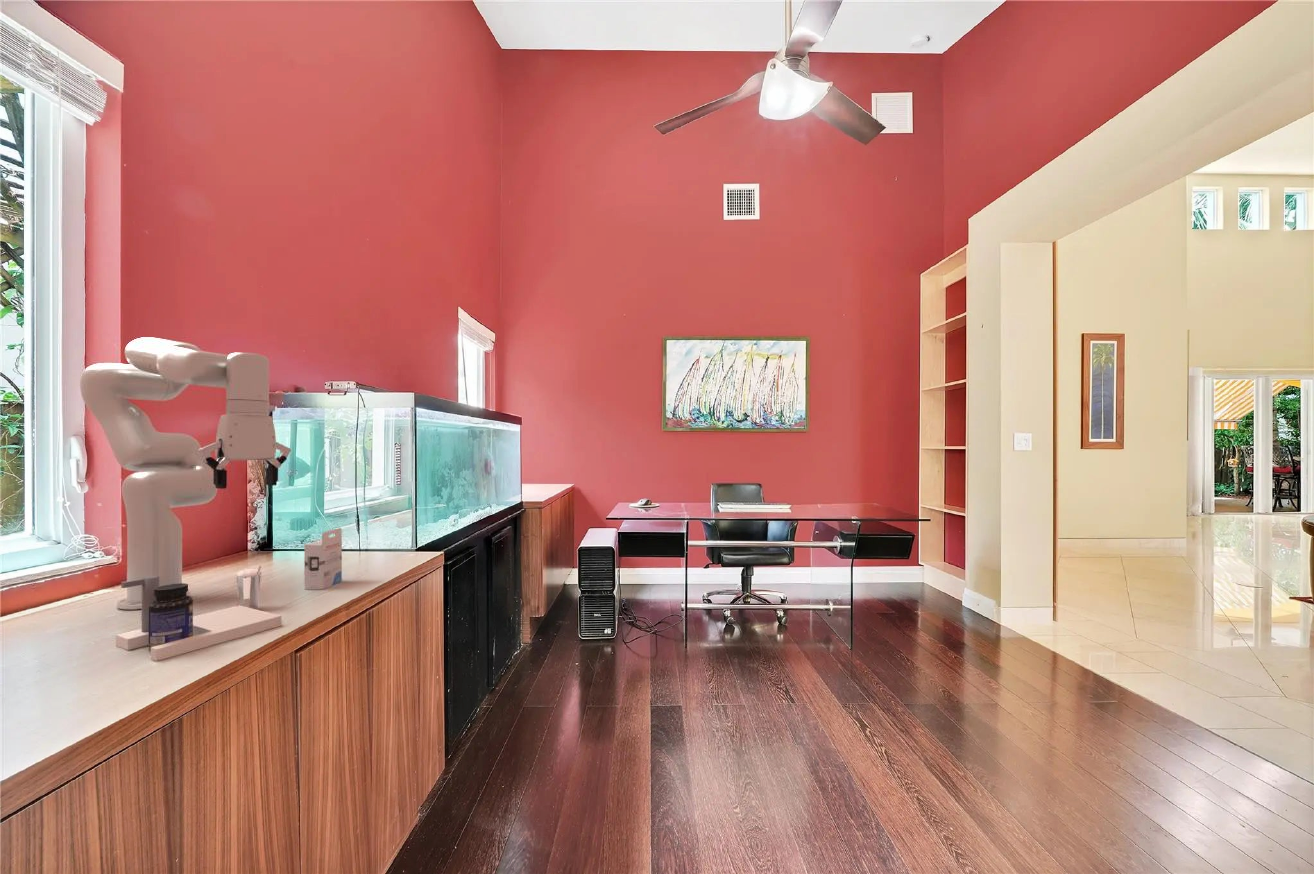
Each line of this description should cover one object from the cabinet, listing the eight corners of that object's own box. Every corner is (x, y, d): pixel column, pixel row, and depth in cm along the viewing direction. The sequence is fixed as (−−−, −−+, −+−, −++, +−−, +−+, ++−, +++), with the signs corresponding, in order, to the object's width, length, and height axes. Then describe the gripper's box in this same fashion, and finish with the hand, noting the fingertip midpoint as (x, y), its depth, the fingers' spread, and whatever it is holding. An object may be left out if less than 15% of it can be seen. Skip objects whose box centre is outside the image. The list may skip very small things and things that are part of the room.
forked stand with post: (115, 645, 98) (116, 580, 99) (239, 614, 116) (240, 559, 117) (155, 661, 91) (156, 591, 91) (281, 625, 109) (281, 567, 109)
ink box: (324, 581, 145) (324, 527, 145) (342, 581, 145) (342, 527, 145) (303, 590, 136) (303, 532, 136) (322, 590, 136) (322, 532, 136)
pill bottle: (198, 643, 99) (199, 584, 100) (155, 654, 94) (156, 592, 94) (185, 637, 102) (185, 580, 103) (142, 648, 97) (143, 587, 97)
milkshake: (250, 613, 117) (251, 568, 117) (230, 611, 118) (231, 567, 118) (269, 607, 122) (269, 563, 122) (250, 605, 123) (250, 562, 123)
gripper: (280, 412, 127) (280, 483, 126) (191, 407, 111) (190, 489, 111) (299, 411, 123) (298, 484, 123) (209, 406, 108) (207, 490, 107)
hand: (246, 486), depth 117 cm, fingers open, 9 cm apart
